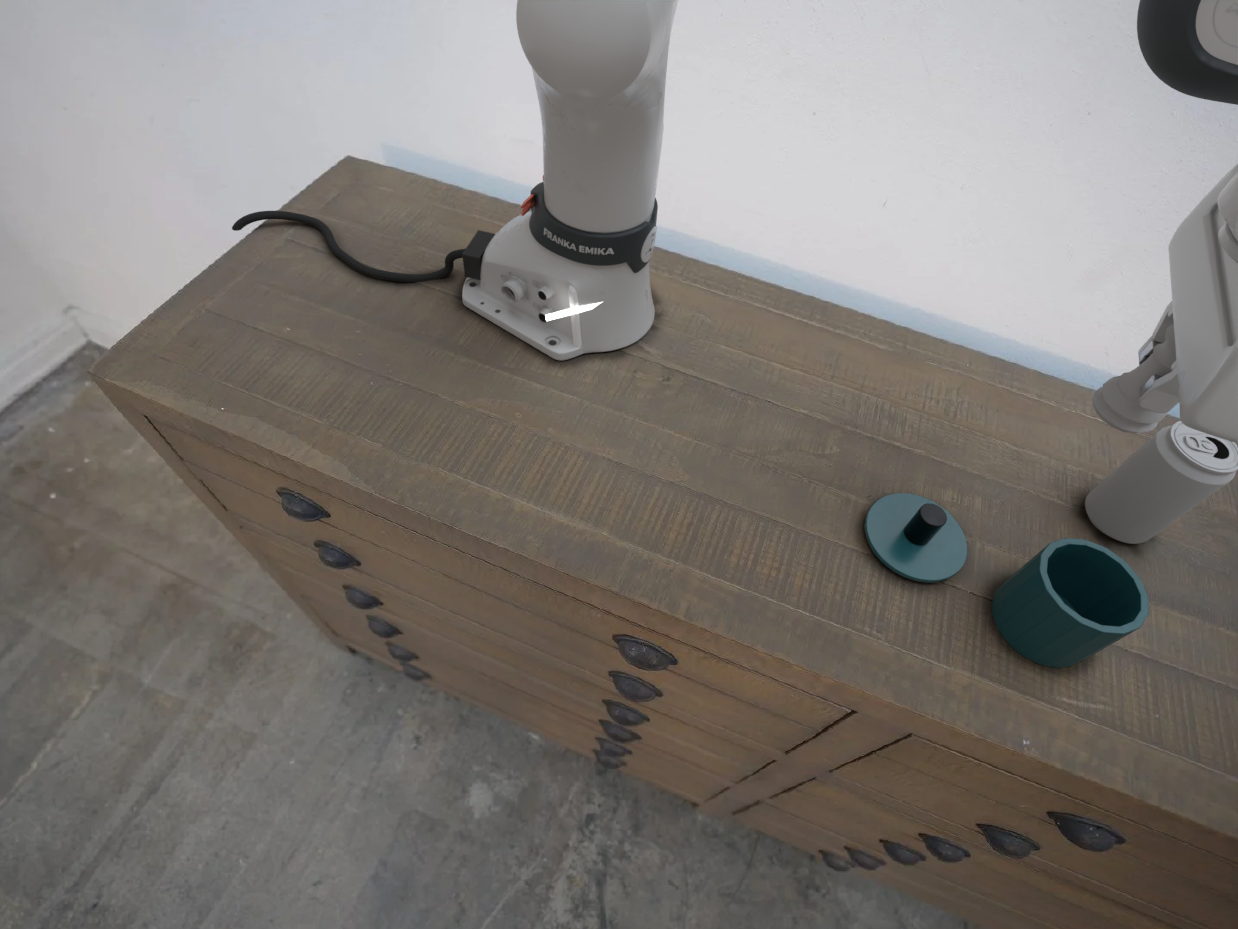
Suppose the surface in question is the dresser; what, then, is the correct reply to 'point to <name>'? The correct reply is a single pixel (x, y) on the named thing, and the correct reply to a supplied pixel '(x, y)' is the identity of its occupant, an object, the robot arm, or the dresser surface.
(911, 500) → the pot lid
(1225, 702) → the dresser surface
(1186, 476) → the beverage can
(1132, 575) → the pot
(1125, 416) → the rook chess piece
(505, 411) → the dresser surface
